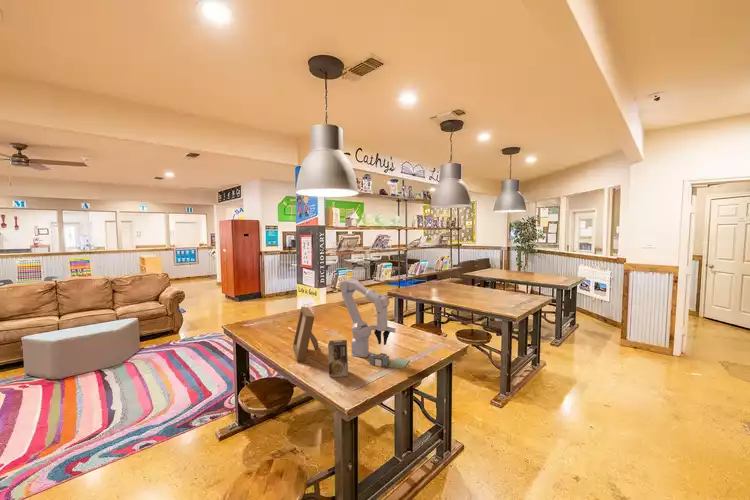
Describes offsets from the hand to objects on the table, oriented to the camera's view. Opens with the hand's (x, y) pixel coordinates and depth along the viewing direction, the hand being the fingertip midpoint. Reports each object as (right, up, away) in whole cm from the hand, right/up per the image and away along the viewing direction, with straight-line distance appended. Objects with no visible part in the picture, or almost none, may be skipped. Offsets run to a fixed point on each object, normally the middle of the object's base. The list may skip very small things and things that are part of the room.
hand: (382, 344), depth 170 cm
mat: (+9, -10, -3) cm, 13 cm away
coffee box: (-22, -11, -14) cm, 28 cm away
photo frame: (-43, -9, +13) cm, 46 cm away
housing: (-2, -10, -4) cm, 11 cm away
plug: (-1, -10, -2) cm, 10 cm away
